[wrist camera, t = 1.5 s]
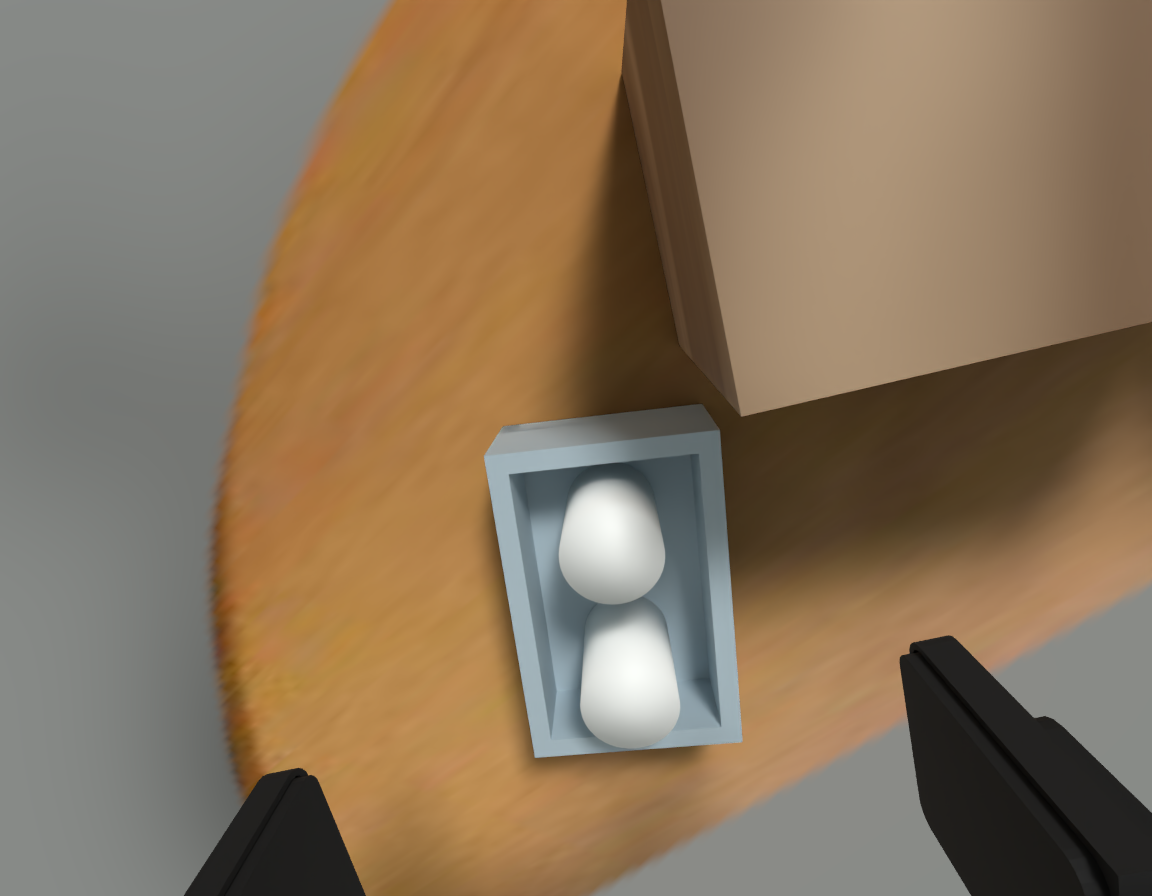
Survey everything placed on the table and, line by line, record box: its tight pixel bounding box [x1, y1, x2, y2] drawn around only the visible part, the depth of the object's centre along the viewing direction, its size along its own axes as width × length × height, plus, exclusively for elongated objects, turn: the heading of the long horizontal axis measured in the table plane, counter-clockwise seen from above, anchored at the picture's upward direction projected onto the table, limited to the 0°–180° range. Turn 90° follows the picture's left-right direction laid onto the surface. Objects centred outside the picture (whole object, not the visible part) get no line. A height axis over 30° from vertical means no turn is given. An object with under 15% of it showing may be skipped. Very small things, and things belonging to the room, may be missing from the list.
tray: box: [484, 404, 742, 758], centre depth 21 cm, size 6×10×5 cm, turn 7°
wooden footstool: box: [622, 0, 1152, 417], centre depth 14 cm, size 14×8×10 cm, turn 104°
